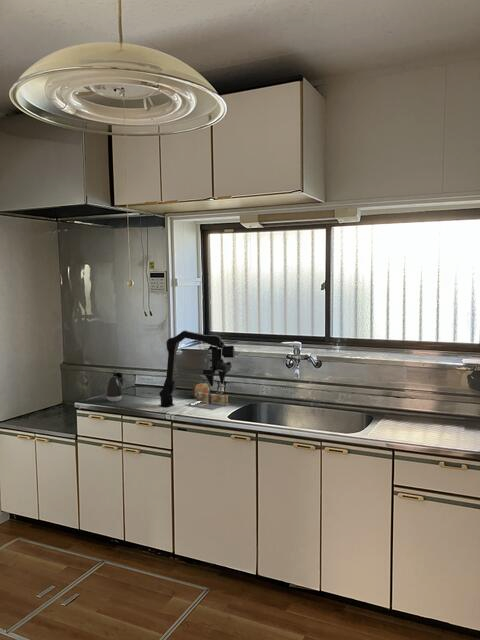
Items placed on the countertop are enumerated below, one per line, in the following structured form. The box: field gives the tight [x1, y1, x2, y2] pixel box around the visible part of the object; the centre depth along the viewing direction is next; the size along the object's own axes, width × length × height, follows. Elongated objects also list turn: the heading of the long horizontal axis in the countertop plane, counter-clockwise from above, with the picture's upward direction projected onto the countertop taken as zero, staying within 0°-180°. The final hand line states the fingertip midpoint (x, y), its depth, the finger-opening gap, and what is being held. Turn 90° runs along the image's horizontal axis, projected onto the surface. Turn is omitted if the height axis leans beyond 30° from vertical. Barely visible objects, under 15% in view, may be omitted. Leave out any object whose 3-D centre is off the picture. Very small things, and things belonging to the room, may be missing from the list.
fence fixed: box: [196, 392, 212, 403], centre depth 327 cm, size 10×2×5 cm, turn 56°
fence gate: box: [211, 393, 229, 404], centre depth 320 cm, size 11×2×5 cm, turn 56°
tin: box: [191, 382, 211, 399], centre depth 343 cm, size 15×3×8 cm, turn 143°
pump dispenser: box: [105, 375, 124, 403], centre depth 334 cm, size 10×10×15 cm
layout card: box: [186, 401, 230, 411], centre depth 320 cm, size 20×16×1 cm
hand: (217, 384), depth 313 cm, fingers open, 9 cm apart
